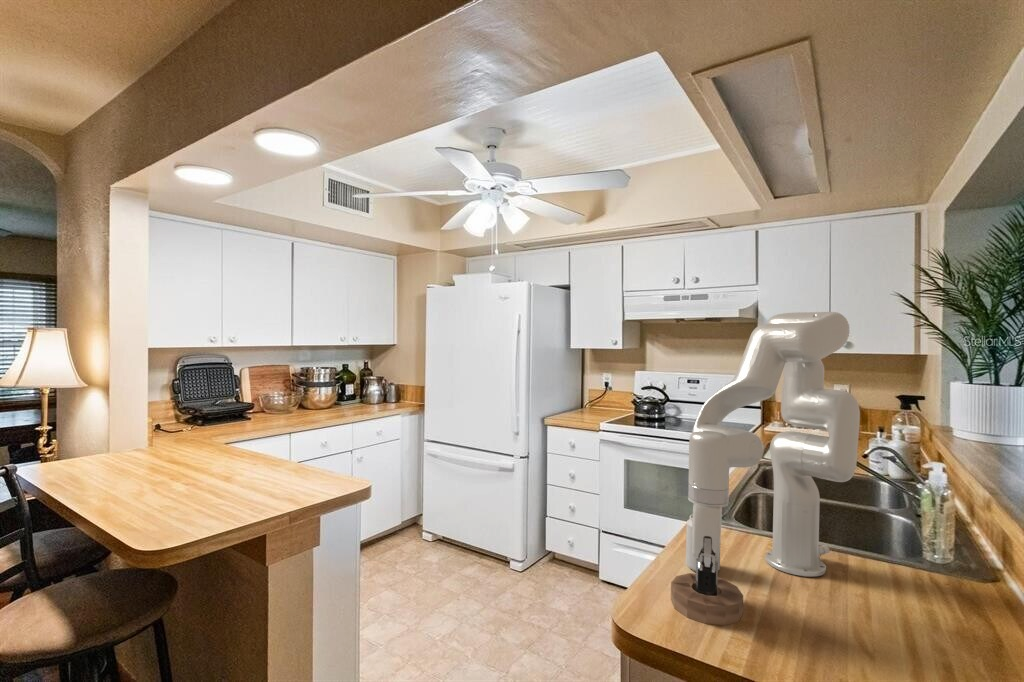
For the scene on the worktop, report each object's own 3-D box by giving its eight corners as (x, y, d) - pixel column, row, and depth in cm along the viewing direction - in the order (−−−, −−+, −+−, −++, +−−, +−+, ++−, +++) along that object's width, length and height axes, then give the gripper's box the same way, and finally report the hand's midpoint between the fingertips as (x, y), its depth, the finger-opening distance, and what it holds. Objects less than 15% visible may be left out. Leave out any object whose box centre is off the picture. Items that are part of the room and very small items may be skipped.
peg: (706, 599, 103) (707, 555, 103) (721, 609, 99) (722, 564, 99) (691, 603, 101) (692, 559, 101) (706, 613, 98) (707, 567, 98)
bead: (705, 585, 109) (706, 569, 109) (756, 616, 97) (757, 598, 97) (658, 596, 104) (658, 580, 104) (706, 630, 92) (706, 611, 92)
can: (723, 577, 113) (724, 524, 113) (687, 574, 114) (689, 521, 114) (716, 563, 120) (717, 513, 120) (683, 559, 121) (684, 510, 121)
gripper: (689, 480, 110) (687, 559, 110) (686, 504, 93) (685, 596, 94) (726, 485, 107) (725, 565, 107) (730, 510, 91) (728, 604, 91)
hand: (706, 579), depth 100 cm, fingers open, 9 cm apart
